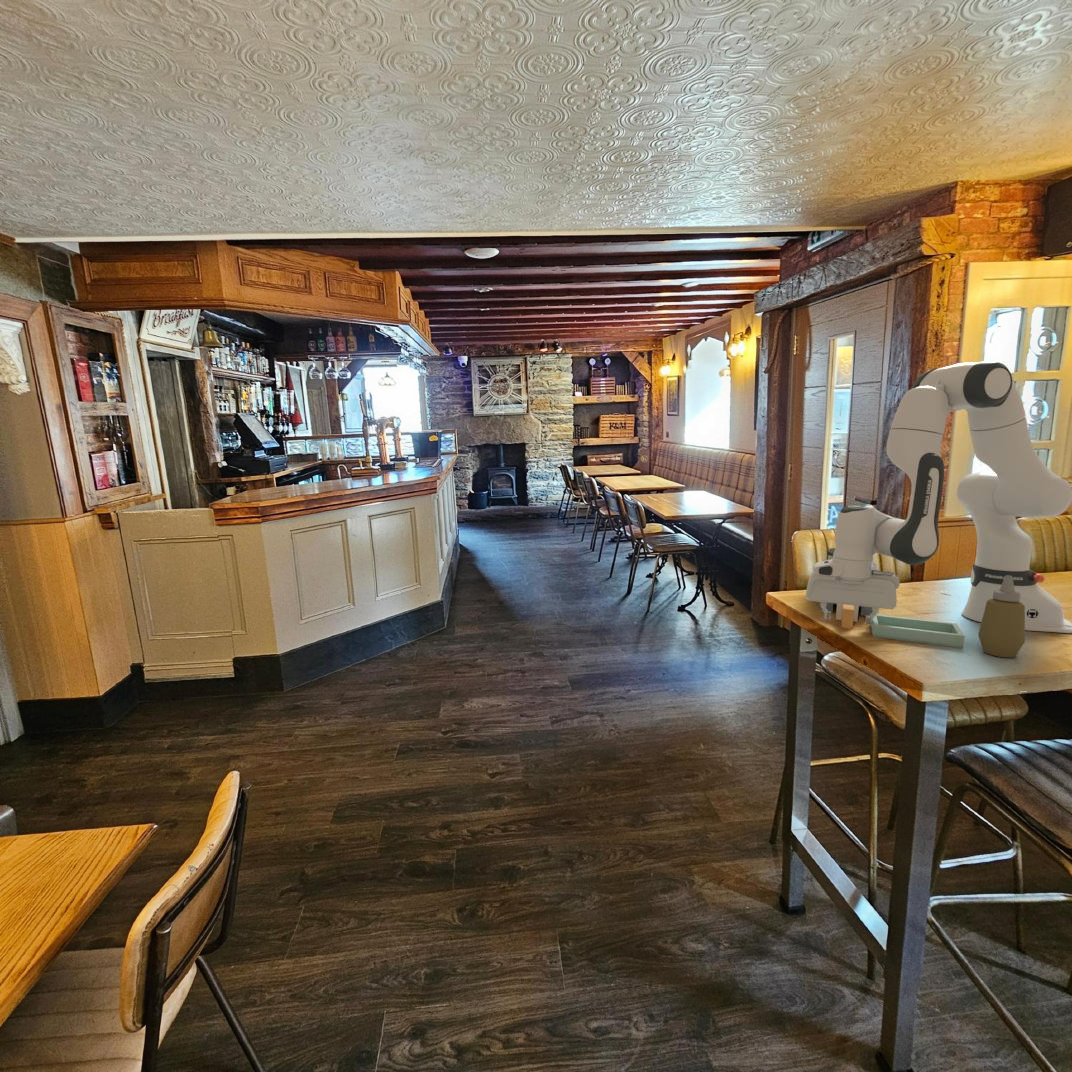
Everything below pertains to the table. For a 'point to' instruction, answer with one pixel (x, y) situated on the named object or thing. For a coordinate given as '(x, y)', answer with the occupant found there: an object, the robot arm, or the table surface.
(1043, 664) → the table surface
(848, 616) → the two-tone block
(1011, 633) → the squeeze bottle
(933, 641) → the tray
